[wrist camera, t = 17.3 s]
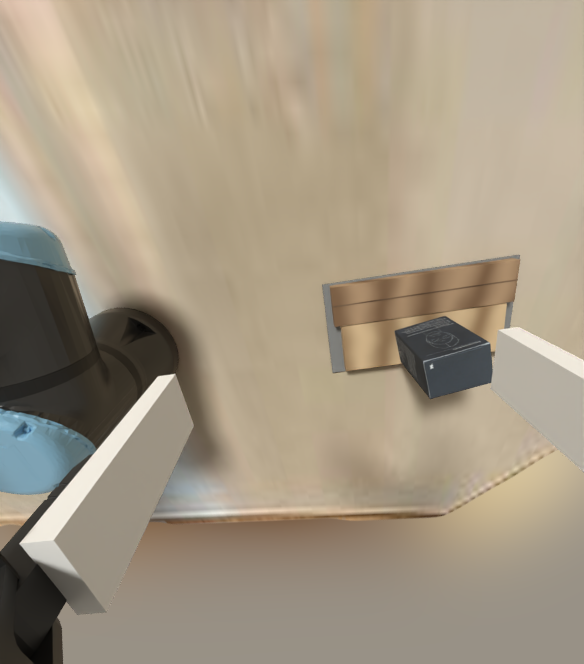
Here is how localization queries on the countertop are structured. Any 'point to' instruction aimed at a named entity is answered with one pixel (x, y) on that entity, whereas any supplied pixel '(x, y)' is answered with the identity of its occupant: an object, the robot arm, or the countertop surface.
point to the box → (444, 356)
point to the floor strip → (425, 292)
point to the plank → (379, 337)
